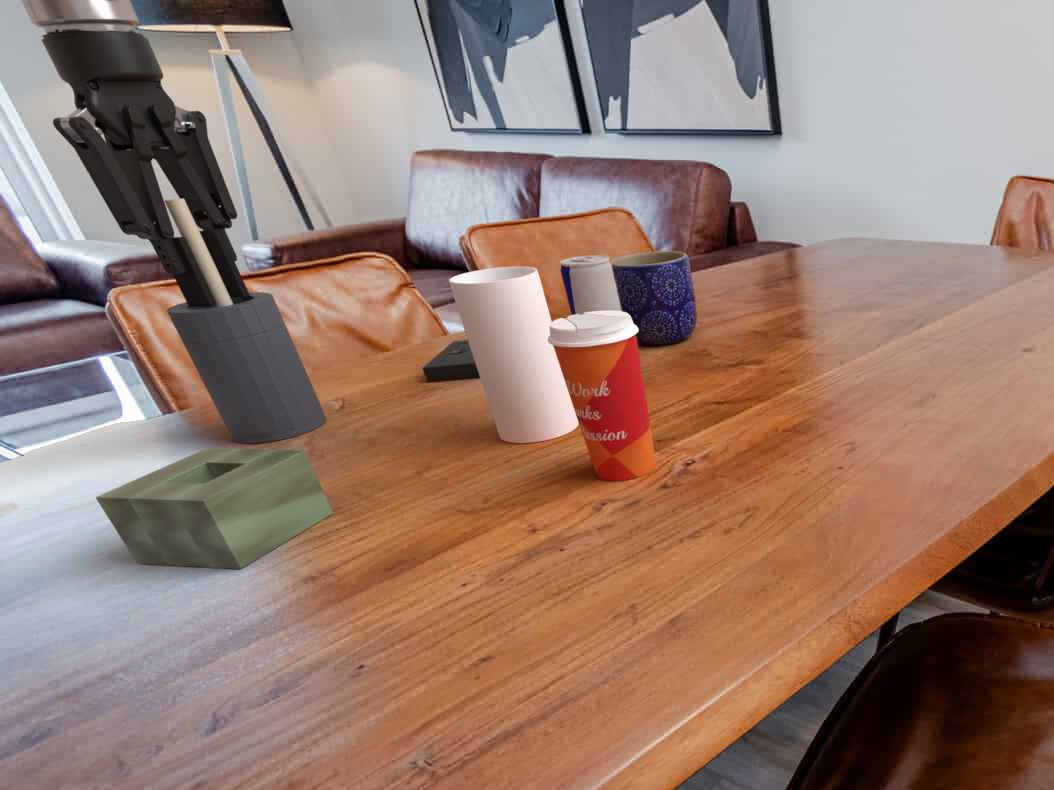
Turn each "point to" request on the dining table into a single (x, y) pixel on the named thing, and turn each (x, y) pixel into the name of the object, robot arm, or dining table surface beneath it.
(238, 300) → the dark gray cylindrical container
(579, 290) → the beverage can
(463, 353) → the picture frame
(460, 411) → the dining table surface
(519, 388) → the cup
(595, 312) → the paper cup
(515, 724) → the dining table surface
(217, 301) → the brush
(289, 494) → the holder
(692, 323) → the planter
